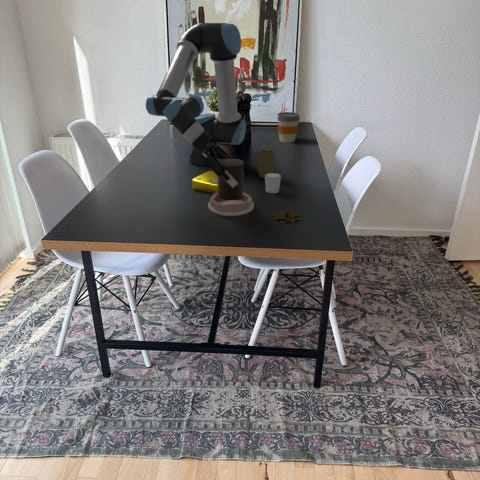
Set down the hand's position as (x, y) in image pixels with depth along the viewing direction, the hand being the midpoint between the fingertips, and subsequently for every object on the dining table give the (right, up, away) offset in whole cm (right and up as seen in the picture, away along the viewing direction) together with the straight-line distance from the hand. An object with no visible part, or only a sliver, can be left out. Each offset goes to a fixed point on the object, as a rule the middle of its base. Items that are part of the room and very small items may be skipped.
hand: (238, 180), depth 174 cm
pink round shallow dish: (-3, -9, +6) cm, 12 cm away
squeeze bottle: (+13, +7, +37) cm, 40 cm away
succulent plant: (+18, -15, -2) cm, 23 cm away
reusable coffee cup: (+28, +35, +92) cm, 103 cm away
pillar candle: (-3, -5, +4) cm, 7 cm away
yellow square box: (-11, 0, +26) cm, 28 cm away
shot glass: (+14, -2, +22) cm, 26 cm away
